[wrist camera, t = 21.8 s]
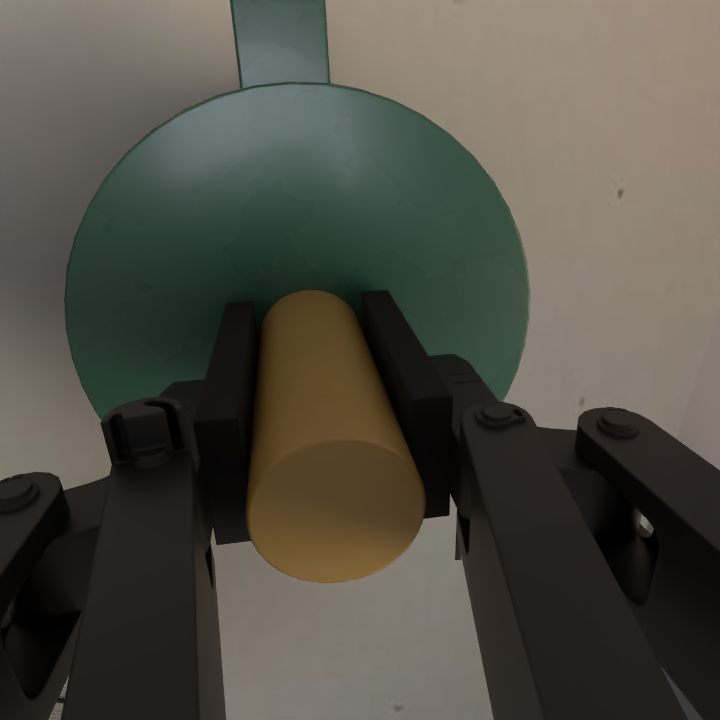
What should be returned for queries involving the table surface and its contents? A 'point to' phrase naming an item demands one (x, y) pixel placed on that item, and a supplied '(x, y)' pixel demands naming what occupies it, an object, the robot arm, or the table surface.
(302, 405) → the lid
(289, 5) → the pot
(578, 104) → the table surface
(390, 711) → the table surface
